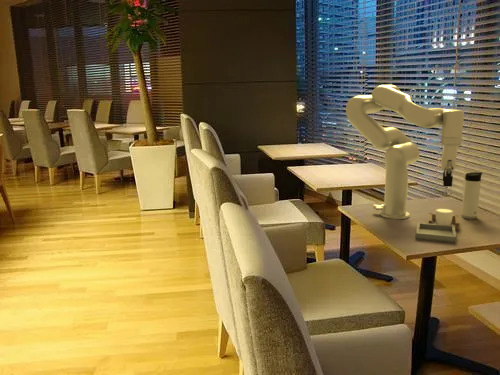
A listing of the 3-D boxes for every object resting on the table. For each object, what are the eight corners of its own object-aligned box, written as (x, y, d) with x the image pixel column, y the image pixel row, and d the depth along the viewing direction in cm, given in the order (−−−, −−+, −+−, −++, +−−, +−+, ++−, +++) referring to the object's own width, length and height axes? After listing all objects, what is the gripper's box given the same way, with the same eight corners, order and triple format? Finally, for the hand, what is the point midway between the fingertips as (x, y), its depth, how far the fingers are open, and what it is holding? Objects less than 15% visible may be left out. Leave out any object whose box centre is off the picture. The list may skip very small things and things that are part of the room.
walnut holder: (428, 227, 195) (428, 220, 194) (428, 219, 206) (429, 213, 205) (458, 230, 191) (459, 223, 190) (457, 222, 202) (457, 215, 201)
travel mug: (479, 219, 205) (484, 174, 200) (463, 218, 206) (467, 173, 202) (475, 215, 211) (480, 171, 206) (459, 214, 212) (464, 170, 208)
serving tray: (415, 239, 181) (416, 233, 181) (416, 228, 194) (417, 222, 194) (455, 243, 176) (456, 237, 176) (454, 232, 189) (454, 226, 189)
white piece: (431, 224, 199) (432, 208, 198) (447, 223, 200) (448, 207, 198) (438, 229, 192) (440, 212, 191) (455, 229, 193) (456, 212, 191)
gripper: (440, 138, 197) (436, 178, 201) (441, 143, 181) (437, 187, 185) (460, 138, 195) (456, 179, 199) (462, 144, 179) (458, 189, 183)
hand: (447, 183), depth 192 cm, fingers open, 9 cm apart
